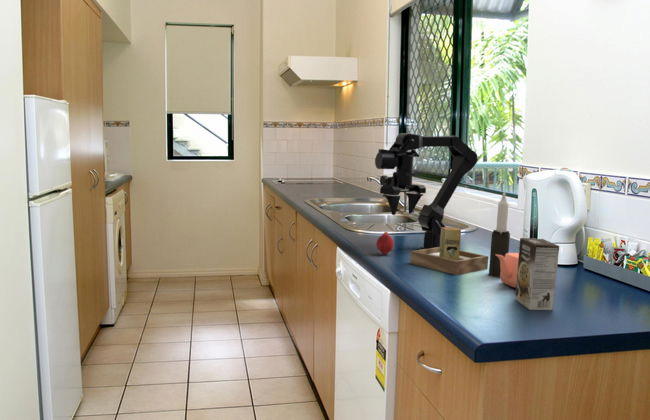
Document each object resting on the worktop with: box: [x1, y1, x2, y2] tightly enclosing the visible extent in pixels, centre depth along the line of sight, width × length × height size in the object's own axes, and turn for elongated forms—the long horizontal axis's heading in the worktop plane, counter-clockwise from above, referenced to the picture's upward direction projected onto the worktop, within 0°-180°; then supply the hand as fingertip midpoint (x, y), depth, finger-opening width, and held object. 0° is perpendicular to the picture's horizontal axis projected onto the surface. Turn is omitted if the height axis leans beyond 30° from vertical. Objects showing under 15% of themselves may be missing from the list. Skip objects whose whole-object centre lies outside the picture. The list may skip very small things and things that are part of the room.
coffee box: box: [514, 237, 560, 311], centre depth 152 cm, size 9×6×16 cm
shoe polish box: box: [439, 226, 462, 261], centre depth 194 cm, size 5×5×12 cm
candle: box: [488, 192, 511, 278], centre depth 183 cm, size 5×5×25 cm
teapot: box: [496, 252, 519, 289], centre depth 170 cm, size 12×18×10 cm, turn 107°
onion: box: [376, 231, 395, 255], centre depth 208 cm, size 6×6×8 cm
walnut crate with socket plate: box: [409, 247, 489, 276], centre depth 194 cm, size 16×18×4 cm
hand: (401, 214), depth 216 cm, fingers open, 9 cm apart
